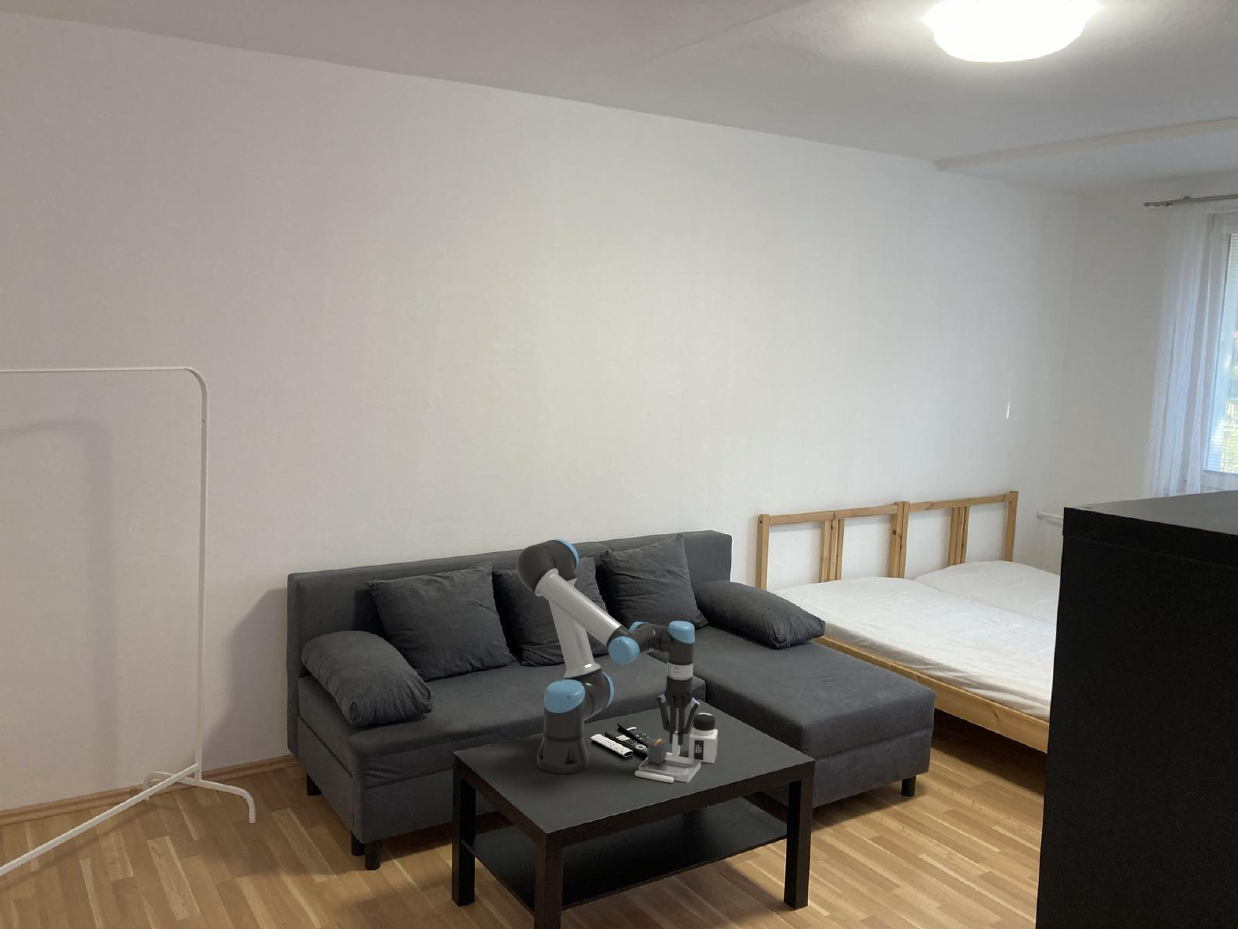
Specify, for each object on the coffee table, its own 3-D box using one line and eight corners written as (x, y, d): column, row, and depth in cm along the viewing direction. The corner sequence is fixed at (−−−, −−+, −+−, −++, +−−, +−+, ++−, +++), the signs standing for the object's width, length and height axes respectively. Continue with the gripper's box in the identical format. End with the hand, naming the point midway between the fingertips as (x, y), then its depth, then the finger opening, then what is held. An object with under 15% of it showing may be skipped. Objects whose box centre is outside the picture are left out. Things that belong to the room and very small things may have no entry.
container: (714, 763, 294) (715, 721, 293) (688, 761, 296) (689, 718, 294) (716, 753, 302) (718, 712, 300) (691, 751, 303) (693, 709, 302)
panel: (638, 773, 286) (638, 765, 286) (652, 758, 297) (652, 750, 297) (688, 782, 281) (688, 775, 281) (700, 766, 292) (701, 759, 292)
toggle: (647, 761, 289) (648, 743, 288) (653, 754, 293) (654, 737, 293) (660, 763, 287) (661, 746, 287) (666, 757, 292) (667, 740, 291)
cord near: (634, 776, 284) (634, 771, 284) (636, 774, 285) (636, 769, 285) (672, 784, 280) (672, 778, 279) (674, 782, 281) (674, 776, 281)
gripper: (653, 676, 284) (650, 755, 287) (697, 683, 279) (693, 764, 282) (662, 668, 291) (658, 746, 294) (705, 675, 286) (701, 754, 289)
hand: (675, 754), depth 288 cm, fingers closed
